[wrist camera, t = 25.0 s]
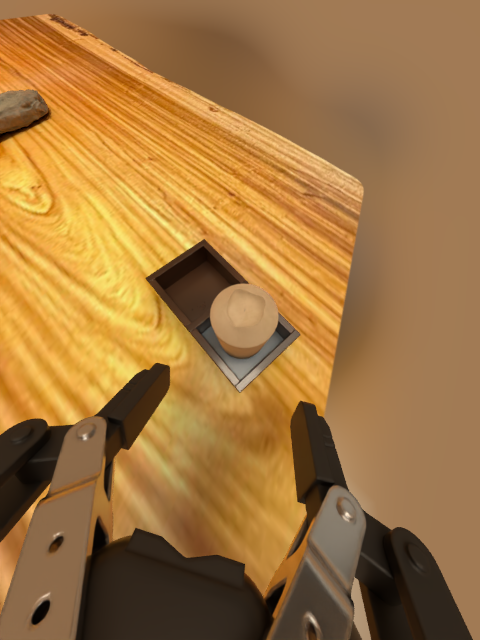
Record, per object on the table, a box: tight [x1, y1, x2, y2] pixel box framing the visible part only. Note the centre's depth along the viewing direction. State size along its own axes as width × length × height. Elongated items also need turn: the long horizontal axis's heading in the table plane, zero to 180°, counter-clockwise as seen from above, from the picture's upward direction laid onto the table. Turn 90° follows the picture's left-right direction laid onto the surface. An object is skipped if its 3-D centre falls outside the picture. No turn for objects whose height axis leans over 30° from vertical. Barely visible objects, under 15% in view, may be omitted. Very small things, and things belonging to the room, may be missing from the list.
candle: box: [210, 284, 278, 359], centre depth 17 cm, size 6×6×10 cm
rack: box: [146, 239, 300, 393], centre depth 22 cm, size 17×9×4 cm, turn 42°
